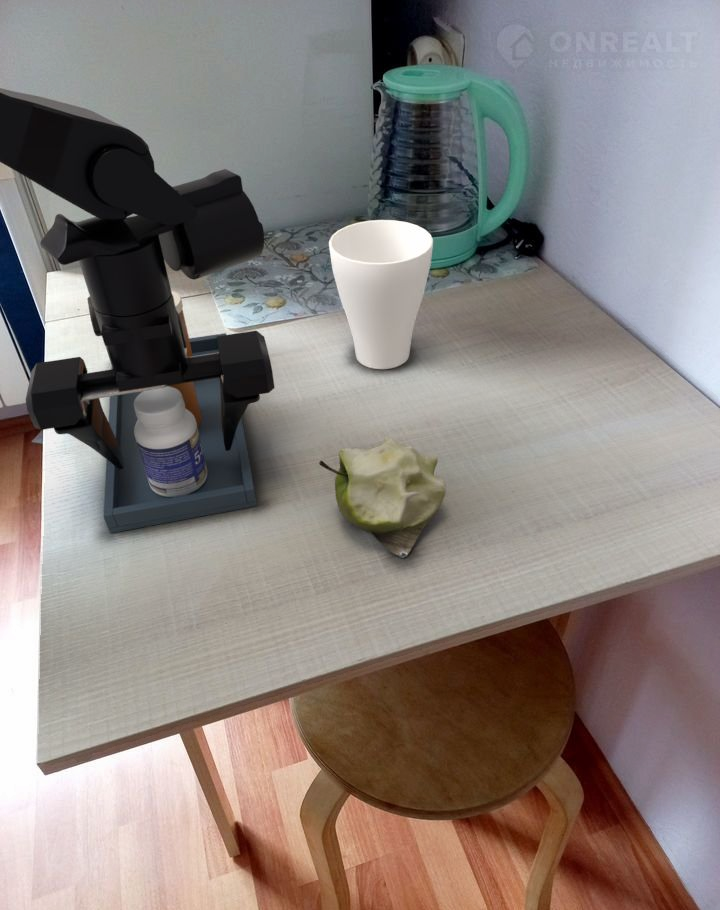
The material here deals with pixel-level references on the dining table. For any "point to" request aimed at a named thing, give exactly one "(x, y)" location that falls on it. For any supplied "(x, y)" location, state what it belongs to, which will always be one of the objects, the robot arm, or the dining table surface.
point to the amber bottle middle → (189, 397)
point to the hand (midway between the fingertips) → (175, 456)
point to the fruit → (388, 492)
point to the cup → (381, 286)
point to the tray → (226, 470)
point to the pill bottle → (169, 443)
